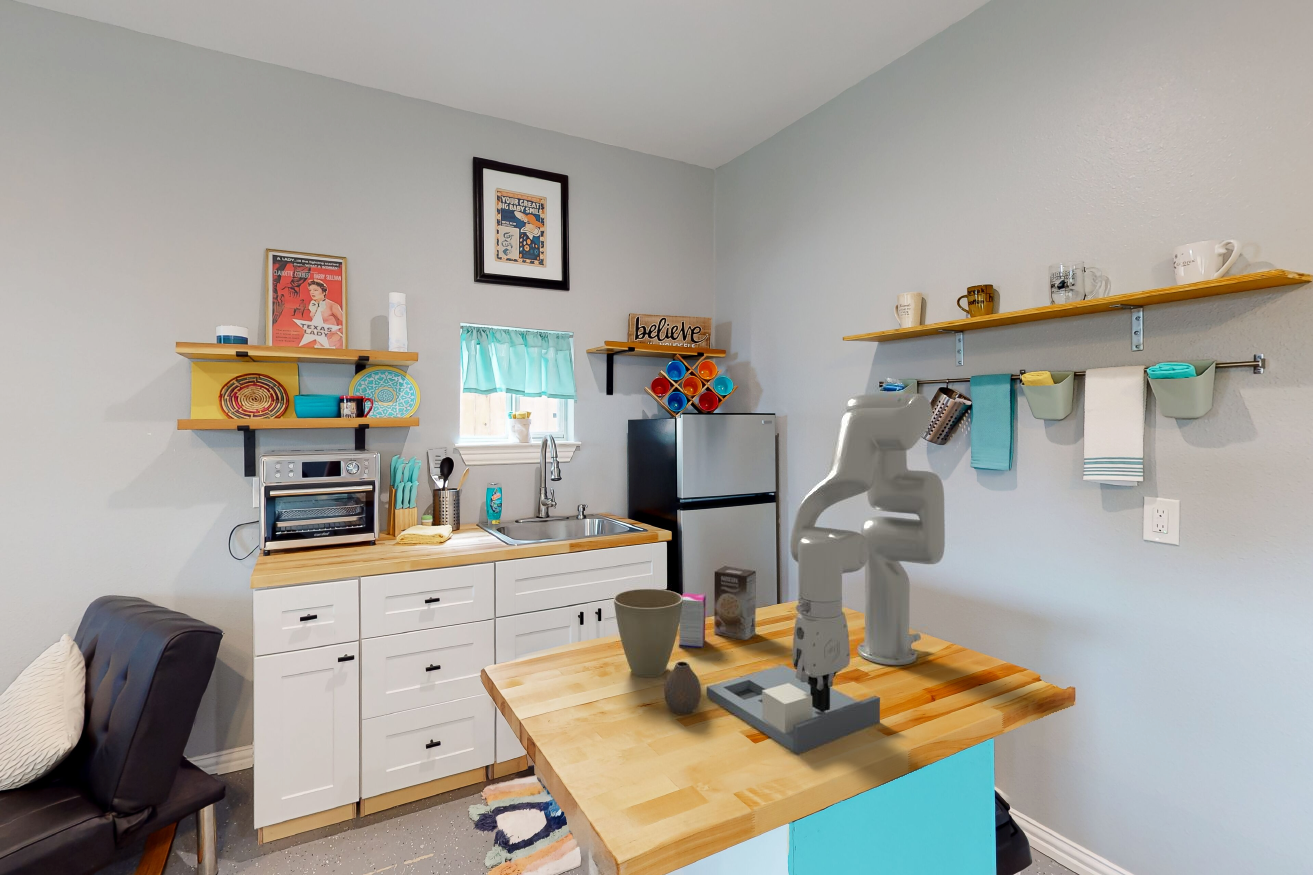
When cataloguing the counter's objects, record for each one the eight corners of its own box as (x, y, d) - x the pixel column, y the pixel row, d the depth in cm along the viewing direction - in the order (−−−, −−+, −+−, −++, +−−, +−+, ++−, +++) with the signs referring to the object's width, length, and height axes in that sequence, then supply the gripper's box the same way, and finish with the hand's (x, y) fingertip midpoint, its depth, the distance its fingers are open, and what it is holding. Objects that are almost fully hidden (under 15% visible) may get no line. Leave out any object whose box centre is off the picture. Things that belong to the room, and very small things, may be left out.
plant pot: (663, 690, 127) (662, 612, 126) (601, 676, 134) (600, 602, 133) (694, 664, 140) (694, 593, 139) (636, 652, 147) (635, 584, 146)
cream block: (788, 710, 114) (788, 682, 113) (812, 724, 108) (812, 695, 108) (762, 718, 111) (762, 690, 110) (784, 733, 105) (784, 703, 105)
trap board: (782, 673, 134) (782, 652, 134) (879, 722, 113) (879, 697, 113) (706, 696, 124) (706, 673, 124) (797, 754, 103) (797, 727, 102)
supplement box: (703, 648, 149) (702, 600, 149) (678, 647, 150) (678, 599, 150) (706, 640, 155) (706, 593, 154) (682, 638, 156) (682, 592, 156)
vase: (675, 721, 114) (675, 673, 114) (657, 706, 120) (657, 660, 120) (708, 713, 117) (707, 666, 117) (689, 698, 123) (688, 654, 123)
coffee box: (712, 634, 159) (712, 570, 158) (724, 626, 164) (723, 565, 164) (746, 640, 154) (746, 575, 154) (757, 632, 160) (756, 569, 159)
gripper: (804, 619, 105) (804, 727, 106) (865, 604, 113) (865, 705, 114) (773, 608, 111) (774, 710, 112) (833, 594, 119) (833, 690, 120)
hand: (820, 707), depth 113 cm, fingers closed
